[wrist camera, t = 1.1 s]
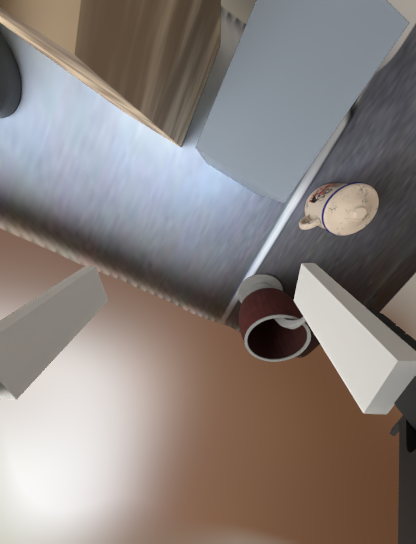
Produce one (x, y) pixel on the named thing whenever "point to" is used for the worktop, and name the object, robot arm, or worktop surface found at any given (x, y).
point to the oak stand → (128, 51)
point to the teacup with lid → (340, 208)
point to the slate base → (293, 87)
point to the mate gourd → (271, 320)
